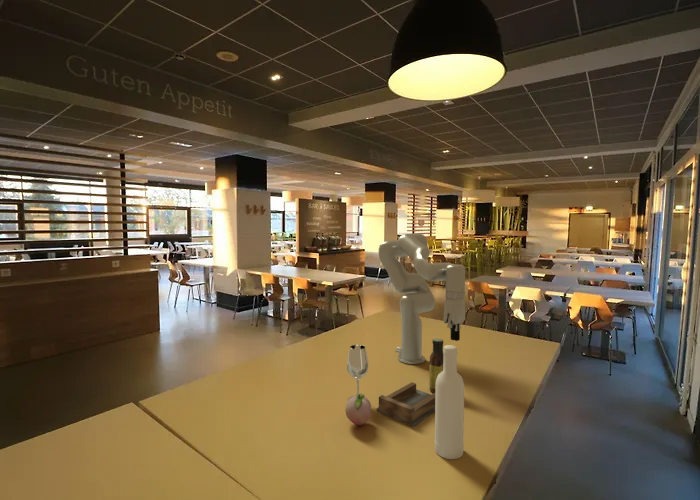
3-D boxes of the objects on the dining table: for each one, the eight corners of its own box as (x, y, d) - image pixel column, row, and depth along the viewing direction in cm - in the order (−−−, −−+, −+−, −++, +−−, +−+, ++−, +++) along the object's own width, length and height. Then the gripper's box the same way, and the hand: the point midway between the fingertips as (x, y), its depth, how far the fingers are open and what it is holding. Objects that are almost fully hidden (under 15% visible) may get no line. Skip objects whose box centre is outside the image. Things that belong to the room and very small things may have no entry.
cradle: (376, 410, 128) (376, 396, 128) (412, 389, 144) (412, 376, 144) (413, 426, 118) (413, 410, 117) (447, 402, 134) (447, 388, 133)
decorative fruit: (346, 417, 124) (346, 388, 123) (370, 417, 124) (370, 388, 123) (344, 432, 114) (344, 401, 114) (371, 433, 114) (371, 401, 114)
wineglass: (371, 397, 138) (371, 344, 136) (365, 407, 130) (364, 351, 129) (351, 394, 140) (350, 342, 139) (344, 404, 133) (343, 349, 132)
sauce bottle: (446, 395, 139) (447, 343, 138) (429, 393, 141) (429, 342, 139) (445, 387, 146) (446, 337, 145) (429, 386, 147) (429, 337, 146)
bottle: (430, 443, 109) (431, 342, 107) (457, 442, 109) (458, 341, 107) (439, 460, 101) (441, 352, 99) (468, 459, 101) (469, 351, 99)
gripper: (455, 291, 158) (455, 334, 159) (437, 296, 147) (437, 342, 148) (472, 293, 153) (472, 337, 154) (455, 298, 142) (454, 346, 143)
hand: (455, 339), depth 151 cm, fingers closed
